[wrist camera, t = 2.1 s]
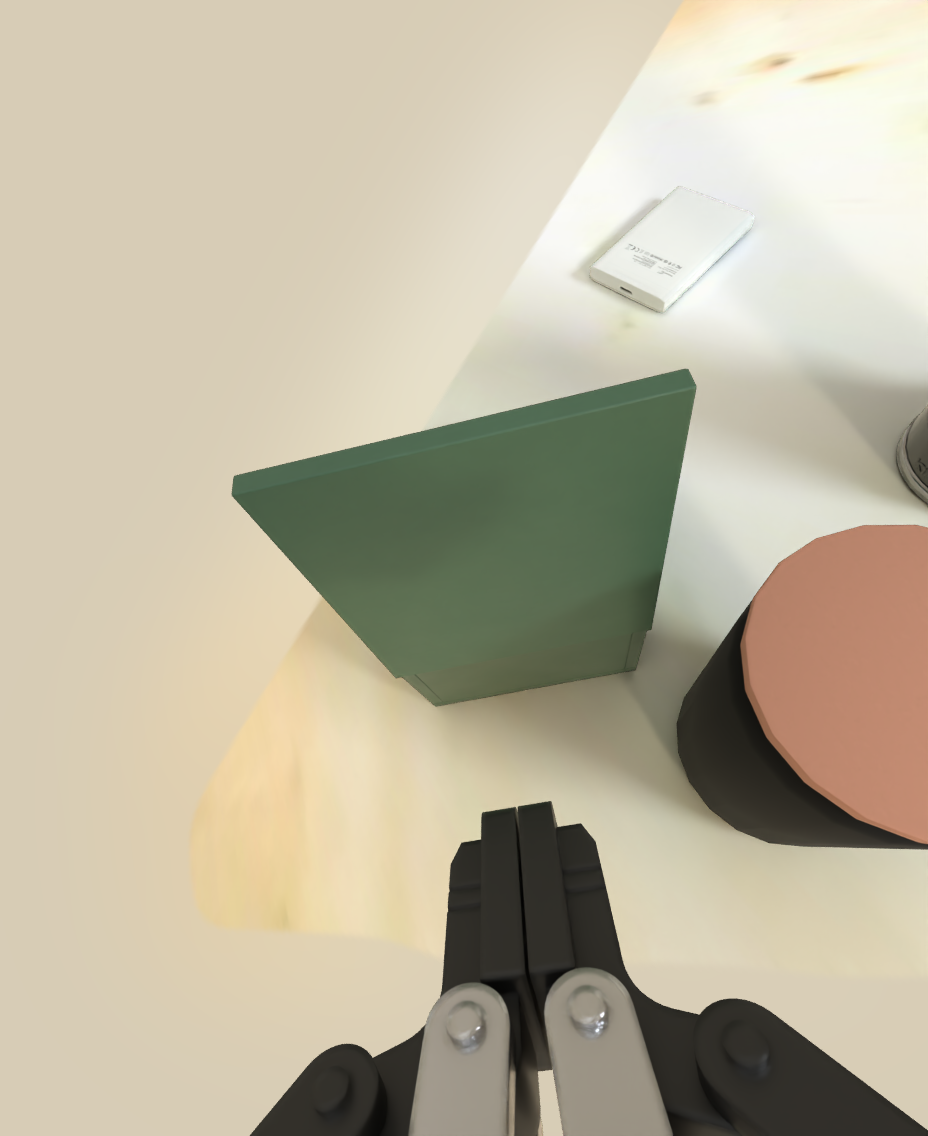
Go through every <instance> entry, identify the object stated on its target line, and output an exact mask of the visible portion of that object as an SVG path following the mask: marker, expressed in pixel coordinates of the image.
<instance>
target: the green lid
mask: <svg viewBox="0 0 928 1136" xmlns="http://www.w3.org/2000/svg"><path fill="white" fill-rule="evenodd" d="M695 393H696V384H695V382H694V380H693V378H692V376H691V374H690V372H689V370H688V369H682V370H678V371H674V372H669V373H665V374H661V375H657V376H653V377H648V378H644V379H640V380H636V381H632V382H627V383H623V384H619V385H615V386H610V387H606V388H602V389H598V390H594V391H589V392H585V393H581V394H577V395H573V396H568V397H564V398H560V399H556V400H551V401H547V402H543V403H539V404H535V405H530V406H526V407H522V408H518V409H514V410H509V411H505V412H501V413H497V414H492V415H488V416H484V417H480V418H476V419H471V420H467V421H463V422H459V423H455V424H450V425H446V426H442V427H438V428H434V429H429V430H425V431H421V432H417V433H413V434H408V435H404V436H400V437H396V438H392V439H388V440H383V441H379V442H375V443H370V444H366V445H362V446H358V447H353V448H350V449H345V450H341V451H337V452H332V453H328V454H324V455H320V456H316V457H312V458H307V459H303V460H299V461H295V462H291V463H286V464H282V465H278V466H274V467H269V468H265V469H261V470H257V471H252V472H248V473H244V474H240V475H236V476H234V479H233V487H232V496H233V497H234V499H235V500H236V501H237V502H238V503H239V504H240V505H241V506H242V508H243V509H244V510H245V511H246V512H247V513H248V514H249V515H250V516H251V518H252V519H253V520H254V521H255V522H256V523H257V524H258V525H259V526H260V528H261V529H262V530H263V531H264V532H265V533H266V534H267V535H268V536H269V537H270V539H271V540H272V541H273V542H274V543H275V544H276V545H277V546H278V548H279V549H280V550H281V551H282V552H283V553H284V554H285V555H286V556H287V558H289V560H290V561H291V562H292V563H293V564H294V565H295V566H296V568H297V569H298V570H299V571H300V572H301V573H302V574H303V575H304V577H305V578H306V579H307V580H308V581H309V582H310V583H311V584H312V585H313V586H314V587H315V589H316V590H317V591H318V592H319V593H320V594H321V595H322V597H323V598H324V599H325V600H326V601H327V602H328V603H329V604H330V605H331V607H332V608H333V609H334V610H335V611H336V612H337V613H338V614H339V615H340V617H341V618H342V619H343V620H344V621H345V622H346V623H347V624H348V625H349V627H350V628H351V629H352V630H353V631H354V632H355V633H356V634H357V635H358V637H359V638H360V639H361V640H362V641H363V642H364V643H365V644H366V646H367V647H368V648H369V649H370V650H371V651H372V652H373V653H374V654H375V656H376V657H377V658H378V659H379V660H380V661H381V662H382V663H383V664H384V666H385V667H386V668H387V669H388V670H389V671H390V672H391V673H392V674H393V676H394V677H395V678H399V677H405V676H410V675H415V674H420V673H426V672H431V671H436V670H442V669H447V668H452V667H457V666H463V665H468V664H473V663H478V662H484V661H489V660H494V659H499V658H505V657H510V656H515V655H520V654H526V653H531V652H536V651H542V650H547V649H552V648H557V647H563V646H568V645H573V644H578V643H584V642H589V641H594V640H599V639H605V638H610V637H615V636H620V635H626V634H631V633H636V632H641V631H647V630H651V628H652V623H653V617H654V612H655V607H656V601H657V596H658V591H659V585H660V580H661V575H662V569H663V564H664V559H665V553H666V548H667V542H668V537H669V532H670V526H671V521H672V516H673V510H674V505H675V500H676V494H677V489H678V484H679V478H680V473H681V467H682V462H683V457H684V451H685V446H686V441H687V435H688V430H689V425H690V419H691V414H692V409H693V403H694V398H695Z"/></svg>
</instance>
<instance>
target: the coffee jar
mask: <svg viewBox="0 0 928 1136" xmlns="http://www.w3.org/2000/svg"><path fill="white" fill-rule="evenodd" d="M677 737H678V753H679V756H680V758H681V761H682V763H683V766H684V769H685V771H686V774H687V777H688V779H689V782H690V783H691V785H692V786H693V787H694V789H695V790H696V791H697V793H698V794H699V795H700V797H701V798H702V799H703V801H704V802H705V803H706V805H707V806H708V807H709V809H711V810H712V811H713V812H715V813H716V814H717V815H718V816H720V817H721V818H722V819H724V820H725V821H726V822H727V823H729V824H730V825H731V826H733V827H734V828H735V829H736V830H738V831H741V832H743V833H746V834H748V835H751V836H753V837H756V838H758V839H760V840H763V841H765V842H768V843H773V844H784V845H794V846H808V847H849V848H889V849H928V528H927V527H922V526H918V525H863V526H859V527H856V528H852V529H849V530H845V531H841V532H838V533H834V534H831V535H827V536H823V537H820V538H816V539H815V540H813V541H812V542H810V543H808V544H807V545H805V546H804V547H802V548H801V549H799V550H798V551H796V552H795V553H793V554H792V555H790V556H789V557H787V558H786V559H784V560H783V561H781V562H779V563H778V565H777V566H776V568H775V569H774V570H773V572H772V573H771V574H770V576H769V577H768V578H767V580H766V581H765V582H764V584H763V585H762V587H761V588H760V589H759V591H758V592H757V593H756V595H755V596H754V598H753V600H752V601H751V602H750V604H749V605H748V606H747V608H746V609H745V611H744V612H743V613H742V615H741V616H740V617H739V619H738V620H737V621H736V623H735V624H734V626H733V627H732V629H731V630H730V632H729V633H728V635H727V636H726V638H725V639H724V640H723V642H722V643H721V645H720V646H719V648H718V649H717V651H716V652H715V654H714V655H713V657H712V658H711V659H710V661H709V662H708V664H707V665H706V667H705V668H704V670H703V671H702V673H701V674H700V675H699V677H698V678H697V680H696V681H695V683H694V684H693V686H692V687H691V689H690V690H689V692H688V693H687V694H686V696H685V697H684V700H683V704H682V707H681V711H680V714H679V718H678V721H677Z"/></svg>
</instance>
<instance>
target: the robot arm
mask: <svg viewBox="0 0 928 1136" xmlns="http://www.w3.org/2000/svg"><path fill="white" fill-rule="evenodd" d="M897 463H898V467H899V470H900V472H901V475H902V477H903V478H904V480H905V482H906V483H907V484H908V486H909V487H910V488H911V489H912V490H913V492H914V493H916V494H917V495H918V496H919V497H920V498H921V499H922V500H924V501H925V502H926V503H928V405H927V406H926V407H925V409H924V410H923V411H922V413H921V414H919V415H918V416H917V417H916V418H915V419H914V420H913V421H912V423H911V424H910V425H909V427H908V428H907V429H906V430H905V432H904V433H903V435H902V436H901V438H900V441H899V443H898V447H897ZM449 889H450V892H449V897H448V912H447V926H446V940H445V955H444V969H443V983H442V984H443V985H442V992H441V996H440V999H438V1001H437V1002H436V1003H435V1005H434V1006H433V1008H432V1010H431V1012H430V1013H429V1016H428V1018H427V1021H426V1025H425V1026H424V1027H423V1028H422V1029H421V1030H420V1031H419V1032H418V1033H416V1034H415V1035H414V1036H413V1037H411V1038H410V1039H408V1040H406V1041H405V1042H403V1043H401V1044H399V1045H397V1046H395V1047H393V1048H391V1049H389V1050H387V1051H385V1052H383V1053H381V1054H380V1055H378V1056H376V1057H374V1058H372V1056H371V1055H370V1054H369V1053H368V1052H367V1051H366V1050H365V1049H364V1048H362V1047H360V1046H358V1045H354V1044H341V1045H338V1046H334V1047H332V1048H330V1049H328V1050H326V1051H324V1052H323V1053H321V1054H320V1055H319V1056H318V1057H316V1058H315V1059H314V1060H313V1061H312V1062H311V1063H310V1064H309V1065H308V1066H307V1068H306V1069H305V1070H304V1071H303V1072H302V1074H301V1075H300V1076H299V1077H298V1078H297V1080H296V1081H295V1082H294V1083H293V1084H292V1086H291V1087H290V1088H289V1089H288V1090H287V1092H286V1093H285V1094H284V1095H283V1096H282V1098H281V1099H280V1100H279V1101H278V1102H277V1104H276V1105H275V1106H274V1107H273V1108H272V1110H271V1111H270V1112H269V1113H268V1115H267V1116H266V1117H265V1118H264V1119H263V1120H262V1122H261V1123H260V1124H259V1125H258V1126H257V1128H256V1129H255V1130H254V1131H253V1132H252V1134H251V1135H250V1136H543V1127H542V1121H541V1117H540V1096H539V1083H538V1071H545V1070H552V1068H553V1074H554V1080H555V1086H556V1092H557V1099H558V1105H559V1111H560V1117H561V1123H562V1130H563V1136H928V1130H927V1129H925V1128H924V1127H923V1126H921V1125H920V1124H919V1123H917V1122H916V1121H915V1120H913V1119H912V1118H911V1117H909V1116H908V1115H907V1114H905V1113H904V1112H903V1111H901V1110H900V1109H899V1108H897V1107H896V1106H895V1105H893V1104H892V1103H891V1102H889V1101H888V1100H887V1099H885V1098H884V1097H883V1096H882V1095H880V1094H879V1093H878V1092H876V1091H875V1090H873V1089H872V1088H871V1087H870V1086H868V1085H867V1084H866V1083H864V1082H863V1081H861V1080H860V1079H859V1078H858V1077H856V1076H855V1075H854V1074H852V1073H851V1072H850V1071H848V1070H847V1069H846V1068H844V1067H843V1066H841V1065H840V1064H839V1063H838V1062H836V1061H835V1060H834V1059H833V1058H831V1057H830V1056H829V1055H827V1054H826V1053H825V1052H823V1051H822V1050H820V1049H819V1048H818V1047H817V1046H815V1045H814V1044H813V1043H811V1042H810V1041H809V1040H807V1039H806V1038H805V1037H803V1036H802V1035H801V1034H799V1033H798V1032H797V1031H795V1030H794V1029H793V1028H792V1027H790V1026H789V1025H787V1024H786V1023H785V1022H784V1021H782V1020H781V1019H779V1018H778V1017H777V1016H776V1015H774V1014H773V1013H772V1012H770V1011H768V1010H767V1009H765V1008H764V1007H762V1006H760V1005H758V1004H756V1003H753V1002H750V1001H747V1000H742V999H724V1000H719V1001H717V1002H714V1003H712V1004H711V1005H709V1006H708V1007H706V1008H705V1009H704V1010H703V1011H702V1012H701V1014H700V1015H698V1014H694V1013H690V1012H685V1011H681V1010H677V1009H672V1008H669V1007H666V1006H663V1005H661V1004H659V1003H657V1002H655V1001H653V1000H652V999H650V998H648V997H647V996H646V995H645V994H643V993H642V992H641V991H640V990H639V989H638V988H637V987H636V986H635V985H634V983H633V982H632V980H631V979H630V977H629V976H628V974H627V971H626V969H625V967H624V963H623V960H622V955H621V951H620V947H619V942H618V938H617V934H616V929H615V925H614V920H613V916H612V912H611V907H610V903H609V899H608V894H607V890H606V886H605V881H604V877H603V872H602V868H601V864H600V859H599V855H598V850H597V846H596V842H595V840H594V839H593V838H592V837H591V835H590V834H589V833H588V832H587V830H586V829H585V828H584V827H583V825H582V824H575V825H568V826H562V827H557V823H556V818H555V814H554V810H553V806H552V802H551V801H548V802H542V803H536V804H530V805H524V806H518V812H517V809H516V807H513V808H507V809H501V810H495V811H489V812H483V813H482V820H481V840H476V841H469V842H463V843H461V845H460V847H459V849H458V851H457V853H456V855H455V857H454V859H453V861H452V863H451V868H450V883H449Z"/></svg>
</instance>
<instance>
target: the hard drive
mask: <svg viewBox="0 0 928 1136" xmlns="http://www.w3.org/2000/svg"><path fill="white" fill-rule="evenodd" d="M754 218H755V216H754V215H753V214H752V213H751V212H749V211H746V210H743V209H741V208H738V207H735V206H733V205H730V204H727V203H725V202H722V201H719V200H717V199H714V198H711V197H709V196H706V195H703V194H701V193H698V192H695V191H693V190H690V189H687V188H685V187H679V186H678V187H677V188H675V189H674V190H673V191H672V192H671V193H670V194H669V195H668V196H667V197H666V198H665V199H663V200H662V201H661V202H660V203H659V204H658V205H657V206H656V207H655V208H654V209H653V210H651V211H650V212H649V213H648V214H647V215H646V216H645V217H644V218H643V219H642V220H641V221H639V222H638V223H637V224H636V225H635V226H634V227H633V228H632V229H631V230H630V231H629V232H627V233H626V234H625V235H624V236H623V237H622V238H621V239H620V240H619V241H618V242H617V243H615V244H614V245H613V246H612V247H611V248H610V249H609V250H608V251H607V252H606V253H605V254H604V255H603V256H601V257H600V258H599V259H598V260H597V261H596V262H595V263H594V264H593V265H591V266H590V278H591V279H592V280H594V281H595V282H597V283H599V284H601V285H603V286H605V287H607V288H609V289H611V290H613V291H615V292H617V293H620V294H622V295H624V296H625V297H628V298H630V299H632V300H634V301H636V302H638V303H640V304H642V305H644V306H646V307H648V308H650V309H652V310H654V311H657V312H660V313H663V312H665V311H666V310H667V309H668V308H669V307H670V306H671V305H672V304H673V303H674V302H675V301H676V300H677V299H678V298H679V297H680V296H681V295H682V294H683V293H685V292H686V291H687V290H688V289H689V288H690V287H691V286H692V285H693V284H694V283H695V282H696V281H697V280H698V279H699V278H700V277H701V276H702V275H703V274H704V273H705V272H706V271H707V270H708V269H709V268H710V267H711V266H712V265H713V264H714V263H716V262H717V261H718V260H719V259H720V258H721V257H722V256H723V255H724V254H725V253H726V252H727V251H728V250H729V249H730V248H731V247H732V246H733V245H734V244H735V243H736V242H737V241H738V240H739V239H740V238H741V237H743V236H744V235H745V234H746V233H747V232H748V231H749V230H750V229H751V228H752V225H753V222H754Z"/></svg>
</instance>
